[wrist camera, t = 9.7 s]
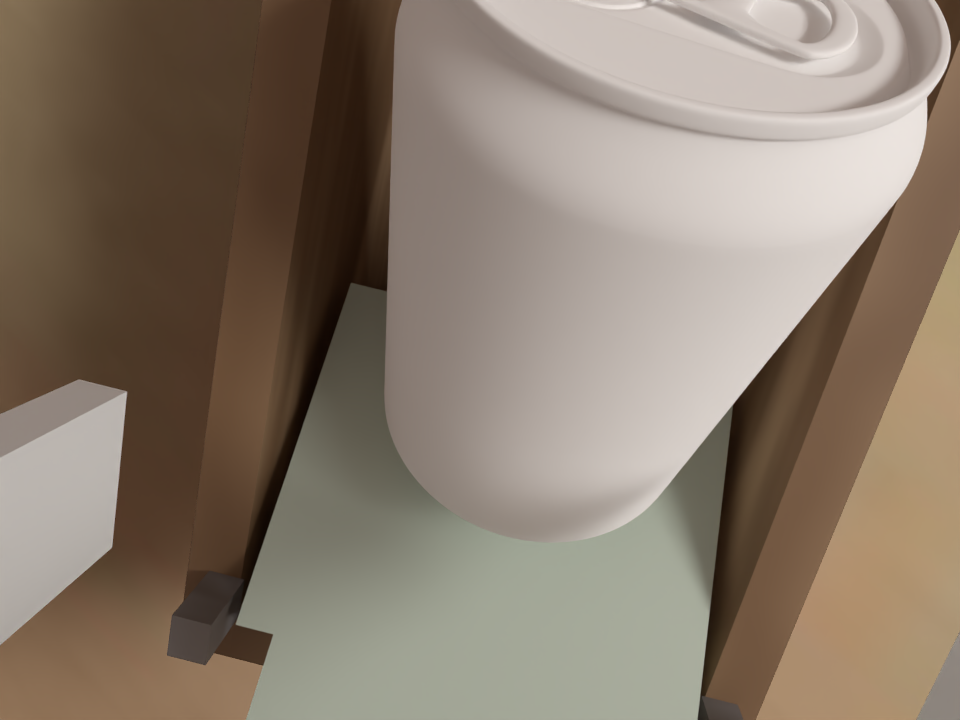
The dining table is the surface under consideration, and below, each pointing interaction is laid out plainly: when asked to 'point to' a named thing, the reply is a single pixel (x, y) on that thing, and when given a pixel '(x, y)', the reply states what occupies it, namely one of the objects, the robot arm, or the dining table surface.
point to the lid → (466, 582)
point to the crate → (364, 261)
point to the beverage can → (622, 228)
